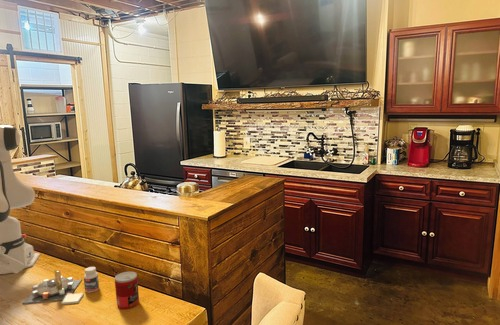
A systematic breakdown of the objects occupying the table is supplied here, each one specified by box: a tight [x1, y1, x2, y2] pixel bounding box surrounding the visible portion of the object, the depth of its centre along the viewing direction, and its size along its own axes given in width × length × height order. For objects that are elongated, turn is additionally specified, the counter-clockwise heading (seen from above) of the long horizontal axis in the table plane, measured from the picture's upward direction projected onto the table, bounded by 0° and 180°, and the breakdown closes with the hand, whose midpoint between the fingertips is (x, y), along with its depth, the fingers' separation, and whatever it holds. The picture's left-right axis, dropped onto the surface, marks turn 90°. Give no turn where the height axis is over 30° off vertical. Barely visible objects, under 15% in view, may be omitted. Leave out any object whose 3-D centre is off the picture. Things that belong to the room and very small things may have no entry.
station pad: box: [60, 292, 84, 306], centre depth 134 cm, size 6×6×1 cm
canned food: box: [114, 271, 140, 310], centre depth 129 cm, size 8×8×11 cm
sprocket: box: [31, 269, 74, 299], centre depth 140 cm, size 15×15×9 cm
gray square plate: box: [22, 279, 82, 305], centre depth 141 cm, size 16×17×1 cm
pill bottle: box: [83, 266, 100, 293], centre depth 141 cm, size 5×5×9 cm
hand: (20, 268), depth 126 cm, fingers closed
